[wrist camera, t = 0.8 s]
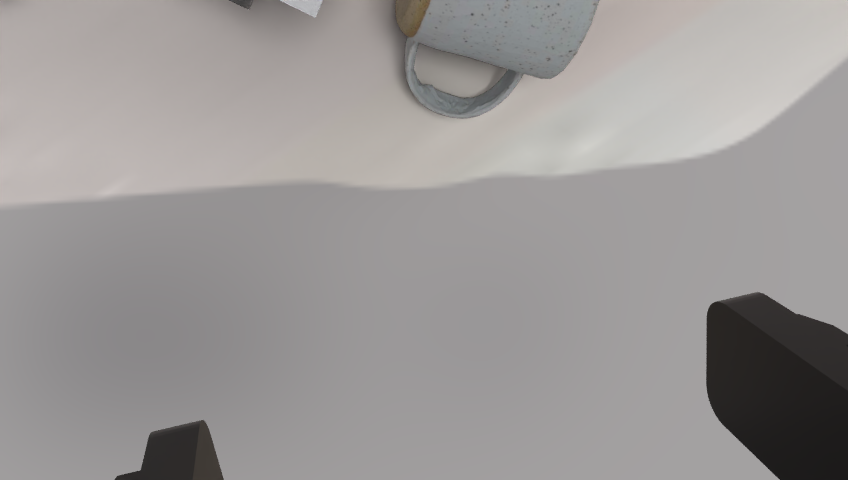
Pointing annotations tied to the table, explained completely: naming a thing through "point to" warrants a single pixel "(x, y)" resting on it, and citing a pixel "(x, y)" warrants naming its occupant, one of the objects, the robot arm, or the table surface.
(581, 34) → the ceramic mug
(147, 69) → the table surface
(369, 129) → the table surface
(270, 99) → the table surface
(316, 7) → the junction box
